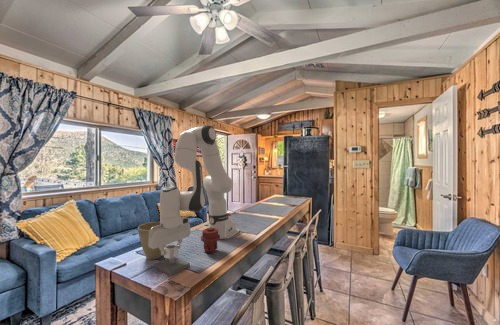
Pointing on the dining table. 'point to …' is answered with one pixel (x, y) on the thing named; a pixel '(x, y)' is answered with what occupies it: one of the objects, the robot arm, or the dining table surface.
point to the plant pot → (144, 240)
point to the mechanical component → (210, 239)
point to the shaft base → (171, 265)
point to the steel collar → (171, 251)
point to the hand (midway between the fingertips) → (171, 251)
